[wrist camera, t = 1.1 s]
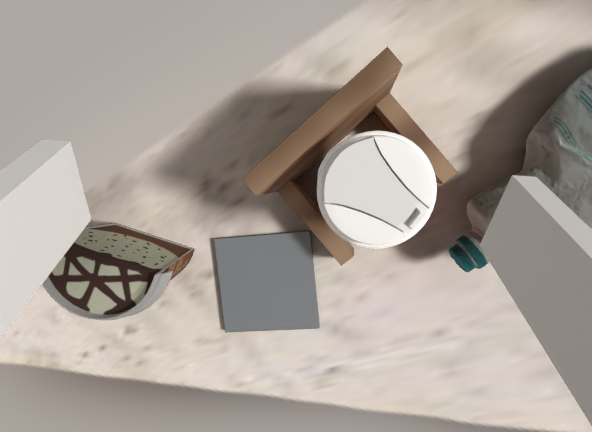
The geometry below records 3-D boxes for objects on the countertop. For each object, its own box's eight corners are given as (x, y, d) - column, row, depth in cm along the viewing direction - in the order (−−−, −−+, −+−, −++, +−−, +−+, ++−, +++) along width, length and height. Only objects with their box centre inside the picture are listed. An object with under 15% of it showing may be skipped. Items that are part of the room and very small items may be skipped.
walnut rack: (447, 172, 36) (494, 170, 24) (342, 257, 39) (338, 293, 27) (375, 88, 36) (387, 46, 25) (274, 178, 39) (241, 179, 27)
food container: (92, 271, 43) (14, 299, 33) (103, 218, 42) (27, 231, 32) (193, 306, 41) (144, 346, 32) (207, 252, 41) (161, 277, 31)
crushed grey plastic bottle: (645, 18, 33) (401, 193, 37) (733, -19, 26) (419, 203, 30) (724, 142, 34) (479, 300, 38) (829, 139, 27) (514, 333, 31)
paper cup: (424, 177, 37) (468, 177, 23) (375, 240, 38) (388, 276, 24) (358, 129, 37) (362, 101, 23) (311, 193, 38) (289, 202, 25)
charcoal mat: (310, 230, 39) (309, 231, 38) (319, 326, 40) (319, 328, 39) (215, 238, 40) (214, 239, 40) (227, 330, 41) (225, 332, 41)
